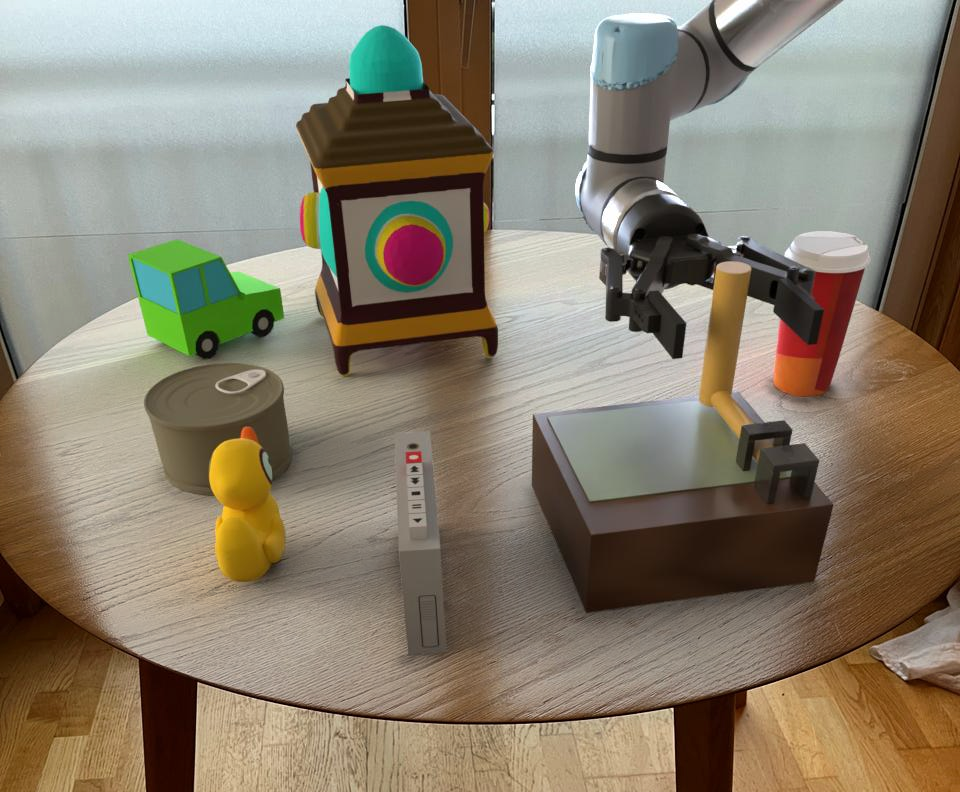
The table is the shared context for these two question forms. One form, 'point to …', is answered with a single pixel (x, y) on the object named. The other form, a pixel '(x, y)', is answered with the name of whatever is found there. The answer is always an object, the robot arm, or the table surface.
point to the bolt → (726, 346)
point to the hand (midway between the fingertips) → (748, 334)
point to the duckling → (245, 509)
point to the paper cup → (836, 293)
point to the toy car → (200, 298)
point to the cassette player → (419, 544)
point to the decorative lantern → (395, 207)
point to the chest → (676, 502)
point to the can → (216, 418)
